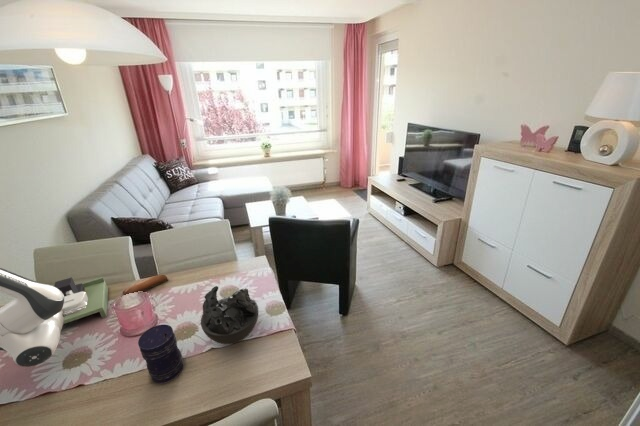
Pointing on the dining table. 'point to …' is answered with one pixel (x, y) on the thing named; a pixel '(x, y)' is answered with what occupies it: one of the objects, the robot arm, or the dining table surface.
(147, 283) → the brown rounded bar
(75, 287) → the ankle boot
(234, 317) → the bowl of black rocks
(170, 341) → the storage jar
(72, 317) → the sage green riser
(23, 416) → the dining table surface
